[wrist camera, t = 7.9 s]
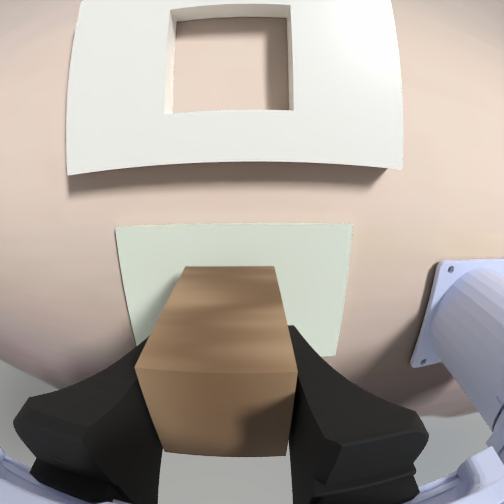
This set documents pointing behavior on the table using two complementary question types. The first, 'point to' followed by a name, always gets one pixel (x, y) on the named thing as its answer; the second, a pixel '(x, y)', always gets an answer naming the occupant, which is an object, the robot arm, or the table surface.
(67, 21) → the table surface
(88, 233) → the table surface
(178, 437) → the walnut plug
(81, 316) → the table surface
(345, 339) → the table surface
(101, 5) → the white square-hole board
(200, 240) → the rubber mat
